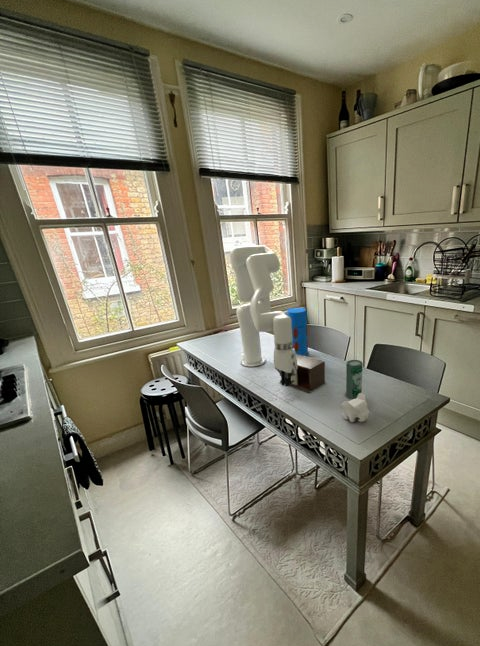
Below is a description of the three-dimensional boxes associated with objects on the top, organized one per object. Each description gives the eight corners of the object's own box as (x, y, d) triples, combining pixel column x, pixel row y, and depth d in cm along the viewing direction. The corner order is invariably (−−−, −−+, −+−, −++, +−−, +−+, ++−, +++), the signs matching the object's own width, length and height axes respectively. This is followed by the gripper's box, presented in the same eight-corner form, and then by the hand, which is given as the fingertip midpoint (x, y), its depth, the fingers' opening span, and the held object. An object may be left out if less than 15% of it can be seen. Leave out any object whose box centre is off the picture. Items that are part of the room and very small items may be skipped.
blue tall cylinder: (306, 357, 175) (304, 312, 165) (287, 356, 177) (284, 312, 167) (309, 350, 185) (308, 307, 174) (291, 349, 187) (289, 307, 177)
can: (357, 400, 130) (358, 366, 124) (344, 396, 133) (344, 364, 127) (363, 393, 135) (364, 361, 128) (349, 390, 138) (350, 358, 131)
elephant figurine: (360, 430, 110) (361, 409, 107) (335, 417, 119) (335, 397, 115) (376, 419, 116) (378, 398, 113) (351, 408, 124) (351, 388, 121)
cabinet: (280, 383, 147) (278, 361, 143) (296, 374, 155) (295, 353, 151) (309, 393, 137) (308, 370, 132) (325, 383, 145) (324, 361, 141)
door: (276, 385, 142) (275, 367, 139) (285, 380, 147) (284, 363, 143) (288, 390, 138) (287, 371, 134) (297, 385, 142) (296, 366, 138)
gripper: (303, 346, 129) (305, 386, 137) (276, 339, 139) (279, 377, 146) (291, 351, 124) (294, 392, 132) (264, 344, 133) (267, 383, 141)
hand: (286, 384), depth 139 cm, fingers closed
